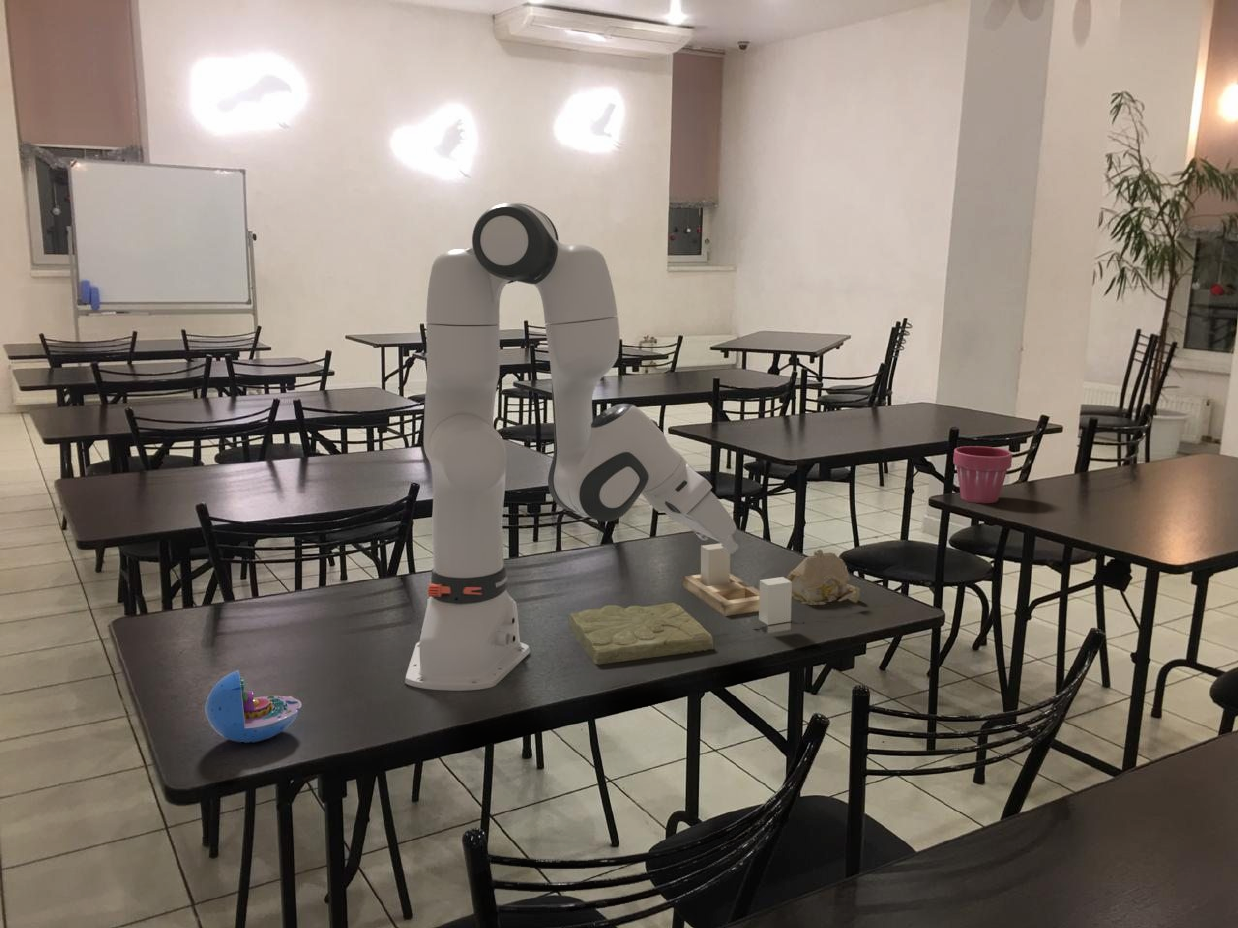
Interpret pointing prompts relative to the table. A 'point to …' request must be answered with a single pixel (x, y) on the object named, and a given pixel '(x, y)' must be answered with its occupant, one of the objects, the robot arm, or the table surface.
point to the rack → (725, 595)
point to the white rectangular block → (775, 604)
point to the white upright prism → (714, 565)
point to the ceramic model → (822, 580)
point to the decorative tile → (637, 632)
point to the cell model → (247, 711)
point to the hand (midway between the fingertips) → (719, 543)
